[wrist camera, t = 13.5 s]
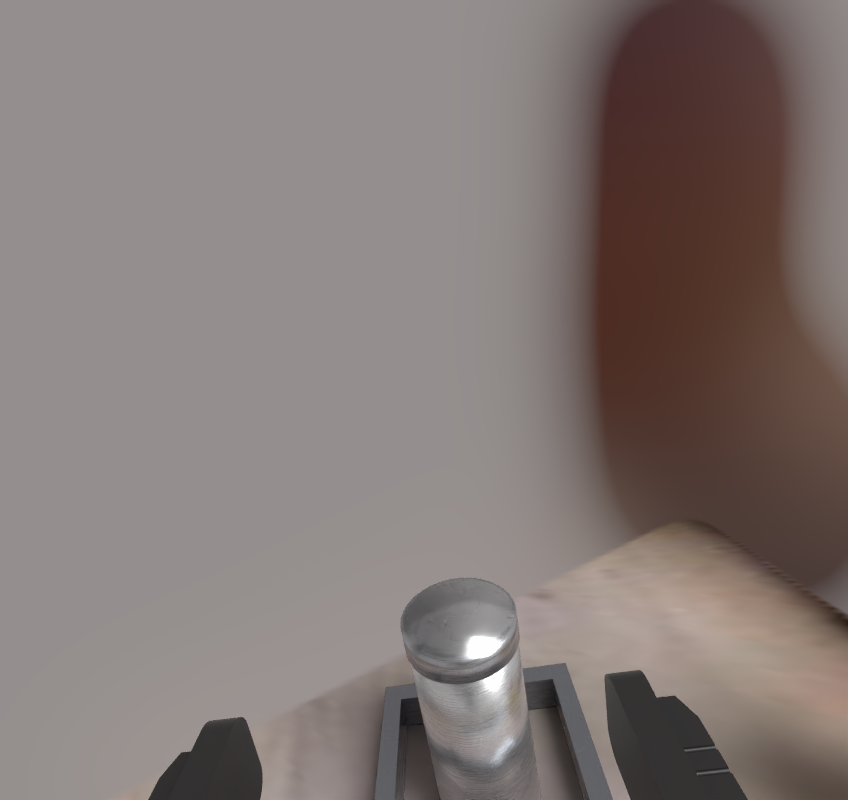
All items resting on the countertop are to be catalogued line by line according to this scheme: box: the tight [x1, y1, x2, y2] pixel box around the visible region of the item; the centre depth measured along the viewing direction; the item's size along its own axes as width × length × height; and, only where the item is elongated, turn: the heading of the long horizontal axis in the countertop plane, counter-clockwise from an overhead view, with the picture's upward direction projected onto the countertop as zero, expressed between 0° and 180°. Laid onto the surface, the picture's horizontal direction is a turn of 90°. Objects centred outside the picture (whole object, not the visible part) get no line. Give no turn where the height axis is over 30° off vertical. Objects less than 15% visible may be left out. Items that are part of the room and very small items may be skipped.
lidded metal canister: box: [401, 578, 541, 800], centre depth 23 cm, size 5×5×11 cm
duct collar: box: [374, 663, 613, 800], centre depth 24 cm, size 11×11×2 cm
